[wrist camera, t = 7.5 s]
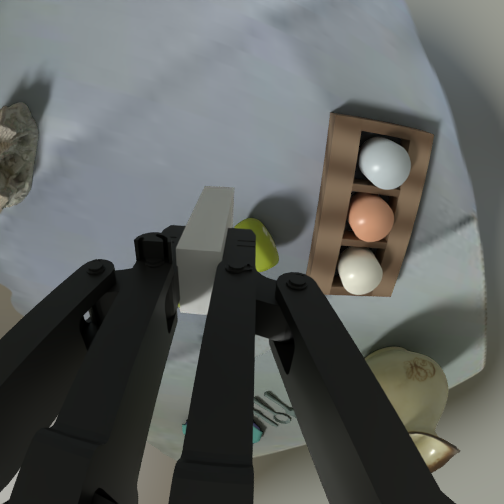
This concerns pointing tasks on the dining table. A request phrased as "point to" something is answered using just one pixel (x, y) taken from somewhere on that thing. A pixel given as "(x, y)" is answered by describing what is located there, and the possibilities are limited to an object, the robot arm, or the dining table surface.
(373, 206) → the terracotta button
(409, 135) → the wooden compartment tray
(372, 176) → the grey button
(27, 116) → the ceramic cottage
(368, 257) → the cream button
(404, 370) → the pitcher
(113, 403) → the robot arm
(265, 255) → the dumbbell
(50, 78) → the dining table surface
